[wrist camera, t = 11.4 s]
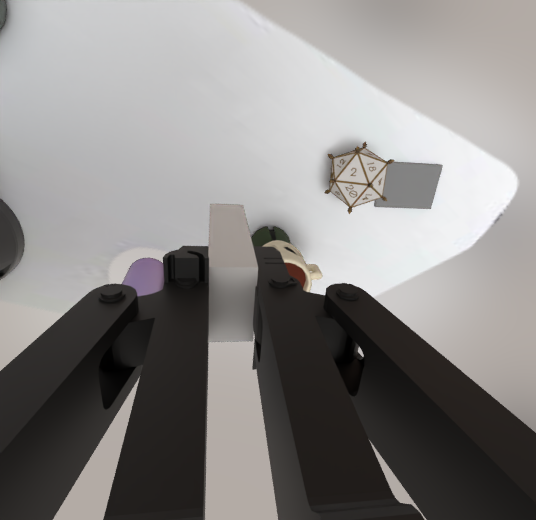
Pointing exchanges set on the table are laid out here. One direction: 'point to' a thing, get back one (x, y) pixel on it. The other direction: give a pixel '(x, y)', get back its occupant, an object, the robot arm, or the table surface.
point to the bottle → (2, 12)
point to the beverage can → (145, 276)
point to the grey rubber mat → (410, 185)
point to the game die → (358, 177)
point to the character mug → (288, 255)
